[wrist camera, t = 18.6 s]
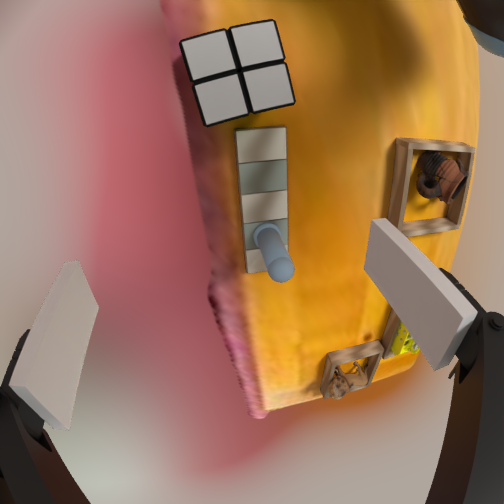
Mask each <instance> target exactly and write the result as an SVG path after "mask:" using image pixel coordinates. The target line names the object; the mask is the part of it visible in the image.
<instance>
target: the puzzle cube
mask: <svg viewBox="0 0 504 504" xmlns="http://www.w3.org/2000/svg"><path fill="white" fill-rule="evenodd" d="M179 46H180V49H181V53H182V56H183V59H184V63H185V66H186V69H187V72H188V76H189V79H190V81H191V82H193V83H194V84H193V86H192V89H193V93H194V96H195V99H196V102H197V106H198V109H199V112H200V115H201V118H202V122H203V125H204V126H206V127H210V126H213V125H217V124H220V123H224V122H227V121H231V120H234V119H238V118H241V117H245V116H248V115H249V114H250V112H251V113H253V114H257V113H261V112H265V111H269V110H273V109H278V108H282V107H286V106H291V105H294V104H295V102H296V100H295V95H294V91H293V87H292V83H291V78H290V74H289V70H288V66H287V63H285V62H284V60H285V58H286V57H285V54H284V50H283V46H282V42H281V39H280V35H279V31H278V28H277V24H276V21H275V20H273V19H268V20H262V21H256V22H251V23H246V24H241V25H236V26H231V27H230V28H229V29H228V30H226V29H224V28H223V29H219V30H215V31H211V32H207V33H203V34H200V35H196V36H193V37H189V38H186V39H183V40H181V41H180V42H179Z"/></svg>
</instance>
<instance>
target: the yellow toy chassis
mask: <svg viewBox="0 0 504 504" xmlns="http://www.w3.org/2000/svg"><path fill="white" fill-rule="evenodd" d="M417 347H418V345H417V344H416V342H415V340H414V339H413V337H412V336H411V335H410V333H409V332H408V330H407V329H406V327H405V326H404V324H403V323H402V321H401V323H400V325H399V328H398V331H397V333H396V336H395V339H394V341H393V344H392V346H391V349H392V351H393V353H394V355H400V354H402V353H405V352H408V351H409V350H410V351H411V352H412V353H418V351H419V347H418V349H417Z"/></svg>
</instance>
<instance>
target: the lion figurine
mask: <svg viewBox="0 0 504 504" xmlns="http://www.w3.org/2000/svg"><path fill="white" fill-rule="evenodd" d="M353 364H354V365H356V366H357V367H358V368H357V371H359V374H358V375H356V374H353V373H349V374H344V372H343V371H342V370H341V368H340V366H339V365H336V367H335V368H336V369H337V370H338V371H337V370H335V371H334V373H335V374H336V377H333V379H332V382H331V383H330V384H329V386H328V392H329V393H328V395H329V397H332V398H334V399H336V400H338V399H341V398H342V397H343V396H344V395H345V393H346V392H347V391H348V390H350V389H351V387H352V386H364V385H366V384H367V382H368V378H367V374H366V368H367V366H368V364H366V365H365V368H364V373H365V374H364V373H363V371H362V369H361V366H360V365H359V364H358V362H354V363H353Z"/></svg>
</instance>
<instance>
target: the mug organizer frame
mask: <svg viewBox="0 0 504 504" xmlns="http://www.w3.org/2000/svg"><path fill="white" fill-rule="evenodd" d="M413 149H422V150H442V151H457V152H459V153H458V159H460V160H461V162H462V164H463V166H464V170H465V171H466V170H467V171H468V173H469V175H468V178H467V181H466V183H465V185H464V186H463V188H462V190H461V191H460V193H459V194H458V196H457V197H456V198H455V199H454V200H453V199H452V198H451V203H450V205H449V210H448V214H447V217H443V218H435V219H426V220H418V221H410V222H403V220H404V214H405V208H406V202H407V196H408V189H409V182H410V174H411V166H412V157H413ZM474 153H475V148H474V147H472V146H470V145H467V144H465V143H462V142H453V141H442V140H430V139H414V138H397V139H396V152H395V163H394V173H393V182H392V190H391V198H390V205H389V212H388V219H387V220H388V221H389V222H390V223H391V224H392V225H394V226H395V227H396V228H397V229H398V230H399V231H400V232H401V233H402V234H403V235H404V236H405V237H411V236H417V235H423V234H430V233H436V232H443V231H449V230H455V229H459V227H460V224H461V220H462V216H463V211H464V207H465V203H466V198H467V193H468V189H469V183H470V178H471V172H472V166H473V160H474ZM457 165H458V167H459V163H458V161H457Z"/></svg>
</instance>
